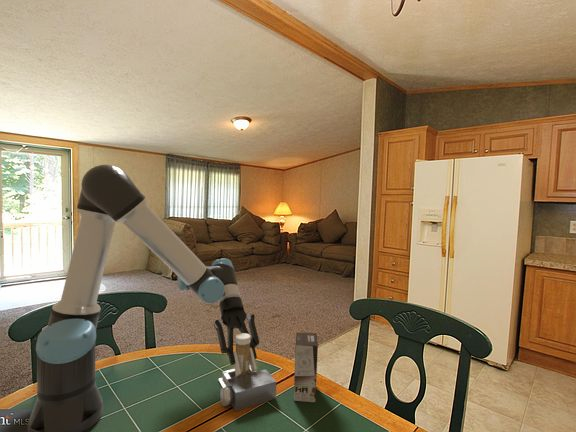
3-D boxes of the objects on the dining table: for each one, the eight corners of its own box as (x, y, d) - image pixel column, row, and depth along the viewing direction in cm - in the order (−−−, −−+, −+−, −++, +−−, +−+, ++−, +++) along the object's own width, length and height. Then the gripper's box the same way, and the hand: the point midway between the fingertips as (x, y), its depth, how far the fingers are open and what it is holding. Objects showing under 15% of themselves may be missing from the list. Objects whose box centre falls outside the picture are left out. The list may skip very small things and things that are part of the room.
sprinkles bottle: (252, 380, 94) (253, 336, 93) (238, 385, 91) (239, 340, 91) (245, 373, 98) (246, 331, 97) (231, 377, 95) (233, 334, 95)
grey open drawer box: (226, 414, 81) (226, 395, 81) (210, 382, 95) (210, 366, 94) (275, 398, 88) (276, 381, 88) (254, 371, 102) (254, 356, 101)
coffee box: (316, 402, 87) (318, 346, 86) (293, 401, 87) (294, 344, 86) (315, 383, 96) (317, 332, 95) (294, 382, 96) (296, 331, 95)
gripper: (251, 303, 111) (269, 370, 98) (202, 309, 103) (214, 384, 89) (257, 292, 107) (277, 362, 93) (206, 298, 98) (220, 376, 84)
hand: (246, 373), depth 91 cm, fingers closed on sprinkles bottle, 4 cm apart
